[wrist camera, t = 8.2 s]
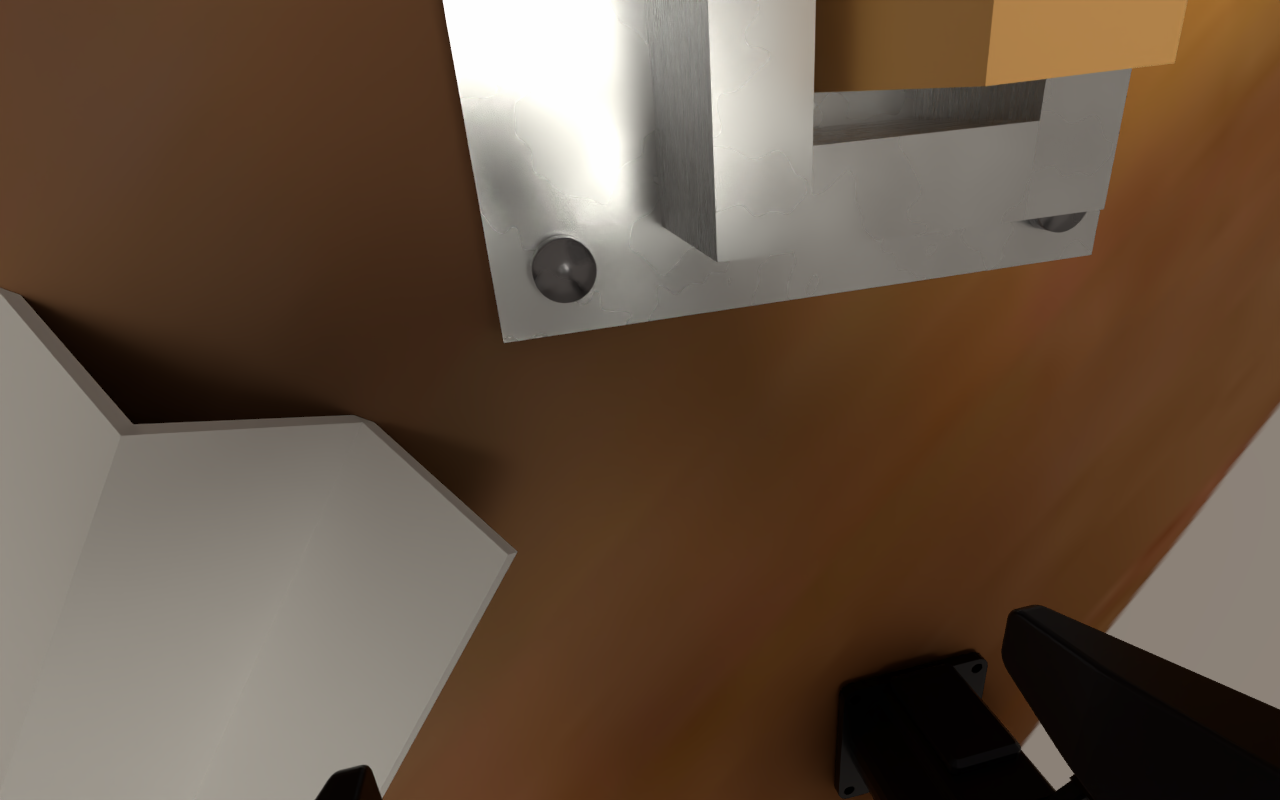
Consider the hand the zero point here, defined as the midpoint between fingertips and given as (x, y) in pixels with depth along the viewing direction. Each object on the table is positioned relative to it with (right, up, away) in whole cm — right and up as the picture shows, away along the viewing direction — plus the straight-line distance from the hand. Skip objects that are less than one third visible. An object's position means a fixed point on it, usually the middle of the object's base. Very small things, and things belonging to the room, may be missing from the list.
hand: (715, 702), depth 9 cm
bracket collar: (+3, +14, +8) cm, 16 cm away
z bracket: (-17, -6, +13) cm, 22 cm away
